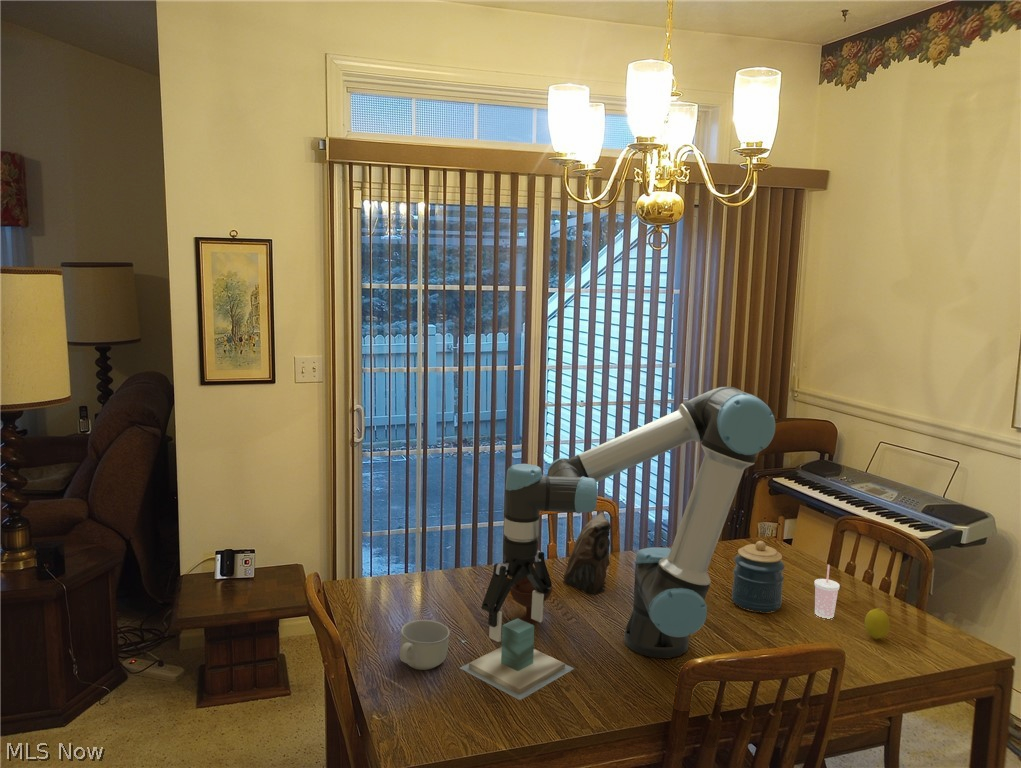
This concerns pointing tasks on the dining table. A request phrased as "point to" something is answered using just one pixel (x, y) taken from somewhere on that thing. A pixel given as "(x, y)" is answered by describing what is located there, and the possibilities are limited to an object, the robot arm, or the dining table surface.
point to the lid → (517, 659)
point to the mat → (512, 693)
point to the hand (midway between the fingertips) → (516, 629)
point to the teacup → (424, 644)
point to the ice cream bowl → (526, 597)
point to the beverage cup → (825, 596)
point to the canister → (758, 578)
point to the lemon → (877, 623)
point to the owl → (590, 557)
